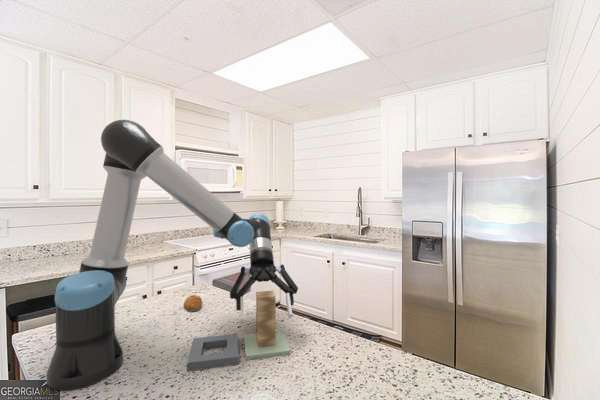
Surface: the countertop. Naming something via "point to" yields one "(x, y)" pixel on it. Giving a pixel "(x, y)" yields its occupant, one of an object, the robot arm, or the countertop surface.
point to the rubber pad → (261, 352)
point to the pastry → (193, 303)
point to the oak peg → (265, 318)
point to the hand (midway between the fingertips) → (266, 318)
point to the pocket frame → (214, 359)
